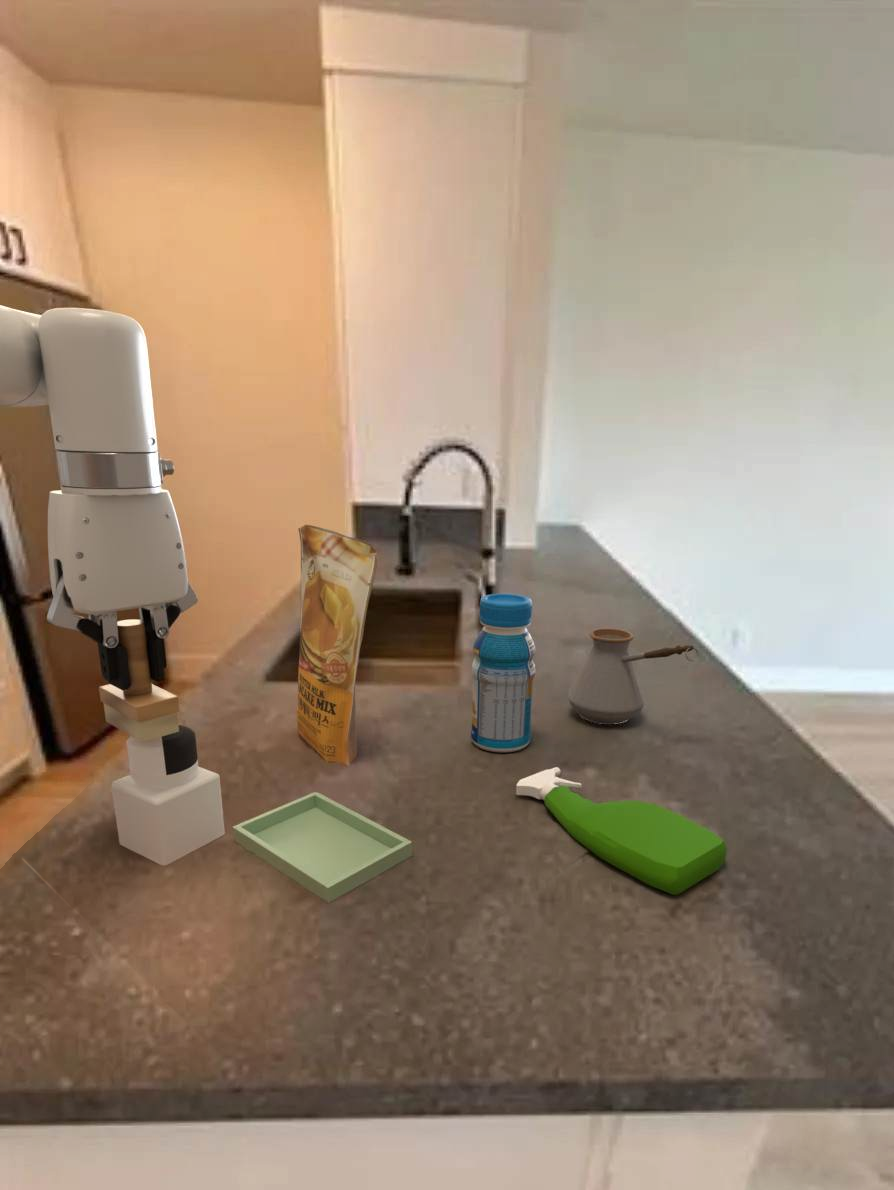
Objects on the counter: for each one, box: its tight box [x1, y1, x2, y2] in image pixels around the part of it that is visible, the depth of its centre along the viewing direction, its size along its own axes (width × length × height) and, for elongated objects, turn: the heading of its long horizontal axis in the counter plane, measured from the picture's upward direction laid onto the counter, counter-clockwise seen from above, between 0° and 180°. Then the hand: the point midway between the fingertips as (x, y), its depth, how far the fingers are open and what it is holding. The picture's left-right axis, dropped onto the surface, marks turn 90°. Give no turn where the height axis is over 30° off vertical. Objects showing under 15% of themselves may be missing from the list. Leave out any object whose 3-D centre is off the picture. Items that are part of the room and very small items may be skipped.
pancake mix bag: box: [296, 524, 378, 767], centre depth 92 cm, size 7×19×28 cm, turn 33°
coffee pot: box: [567, 628, 699, 724], centre depth 103 cm, size 21×12×15 cm, turn 34°
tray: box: [232, 791, 413, 904], centre depth 72 cm, size 15×10×2 cm
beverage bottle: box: [470, 593, 536, 753], centre depth 96 cm, size 8×8×20 cm
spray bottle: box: [515, 766, 728, 896], centre depth 78 cm, size 3×11×24 cm
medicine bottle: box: [111, 724, 226, 867], centre depth 71 cm, size 7×7×12 cm
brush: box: [98, 618, 180, 742], centre depth 66 cm, size 7×4×10 cm, turn 51°
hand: (136, 680), depth 66 cm, fingers closed on brush, 2 cm apart
